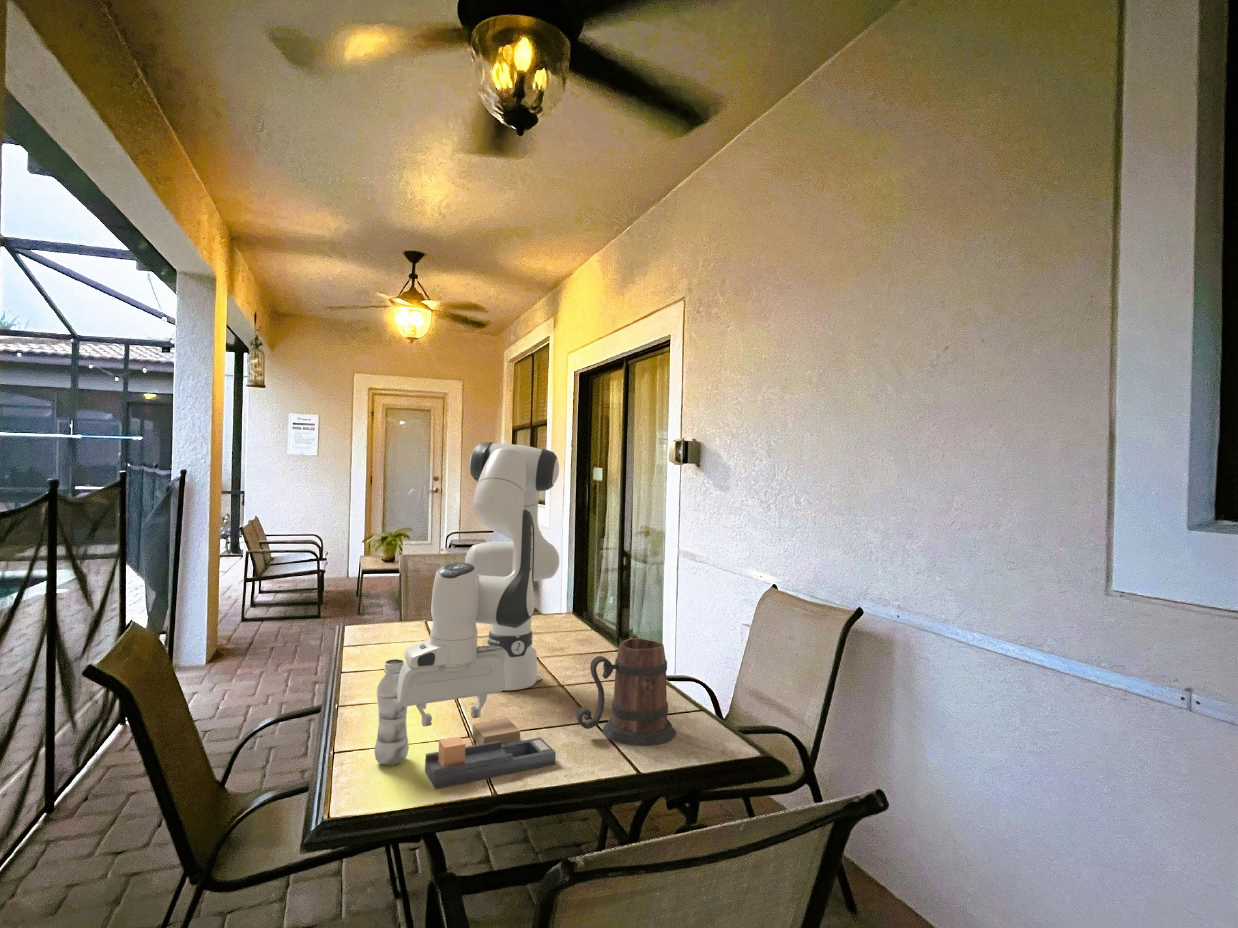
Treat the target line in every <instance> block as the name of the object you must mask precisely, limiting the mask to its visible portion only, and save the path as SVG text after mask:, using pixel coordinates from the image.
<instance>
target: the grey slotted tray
mask: <svg viewBox="0 0 1238 928" xmlns="http://www.w3.org/2000/svg"><path fill="white" fill-rule="evenodd" d="M556 753H557V752H556V750H554V749H553V748H552V747H551V746H550V745H549V744H548V743H547V742H546V741H545V740H544V739H542V738H541V737H535V738H529V739H524V740H520V741H518V742H513V743H508V744H502V745H501V741H494V742H489V743H483V744H473V745H467V746H465V762H462V763H457V764H452V765H447V766H441V764H440V763H439V761H438V759H439V751H434V752H428V753H426V754H425V760H424V772H425V774H426V776H427V778H428V780H429V782H430V783H431V785H432V787H433V789H434V790H439V789H444V788H449V787H454V786H458V785H463V784H467V783H473V782H478V781H483V780H487V779H491V778H497V777H501V776H507V775H511V774H517V773H521V772H525V771H530V770H535V769H540V768H545V767H549V766H554V765H556Z"/></svg>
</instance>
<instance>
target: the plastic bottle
mask: <svg viewBox="0 0 1238 928" xmlns="http://www.w3.org/2000/svg"><path fill="white" fill-rule="evenodd" d="M404 663H405V661H404V660H403V659H401V658H400V659H399V658H397V659H396V658H393V659H388V660H386V661H385V662H384V668H383V672H384V673H385V674H384V675H383V677H382V678H381V679H380V681H379V683H378V685H377V688H376V698H377V707H378V708H377V709H378V728H377V737H376V741H375V746H374V756H375V757H374V758H375V760H376V761H377V763H378V764H379V765H382V766H395V765H398V764H400V763H402V762H404V761H405V759H407V756H408V753H409V749H410V748H409V747H410V746H409V739H408V732H407V730H408V729H407V727H408V726H407V714H408V706H406V707H404V706H402V705H401V704H400V703H399V701H398V699H397V686H398V679H399V673H400V670H401V667H402V666H403V664H404Z"/></svg>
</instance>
